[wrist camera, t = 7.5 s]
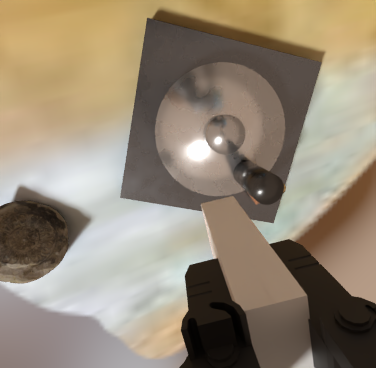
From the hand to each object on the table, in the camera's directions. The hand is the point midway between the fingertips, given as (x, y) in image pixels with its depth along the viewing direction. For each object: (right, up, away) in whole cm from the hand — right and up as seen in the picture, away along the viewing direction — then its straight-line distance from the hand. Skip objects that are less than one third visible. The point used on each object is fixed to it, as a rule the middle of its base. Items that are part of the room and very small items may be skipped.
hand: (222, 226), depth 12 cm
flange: (+3, +8, +22) cm, 23 cm away
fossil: (-23, -5, +26) cm, 35 cm away
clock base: (+2, +9, +24) cm, 26 cm away
